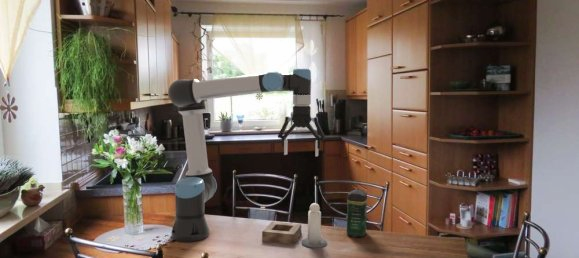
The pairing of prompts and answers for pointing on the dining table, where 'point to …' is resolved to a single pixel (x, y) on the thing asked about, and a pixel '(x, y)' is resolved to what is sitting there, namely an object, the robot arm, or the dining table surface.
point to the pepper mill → (314, 224)
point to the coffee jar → (356, 213)
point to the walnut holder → (281, 232)
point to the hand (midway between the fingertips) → (301, 155)
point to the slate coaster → (319, 245)
